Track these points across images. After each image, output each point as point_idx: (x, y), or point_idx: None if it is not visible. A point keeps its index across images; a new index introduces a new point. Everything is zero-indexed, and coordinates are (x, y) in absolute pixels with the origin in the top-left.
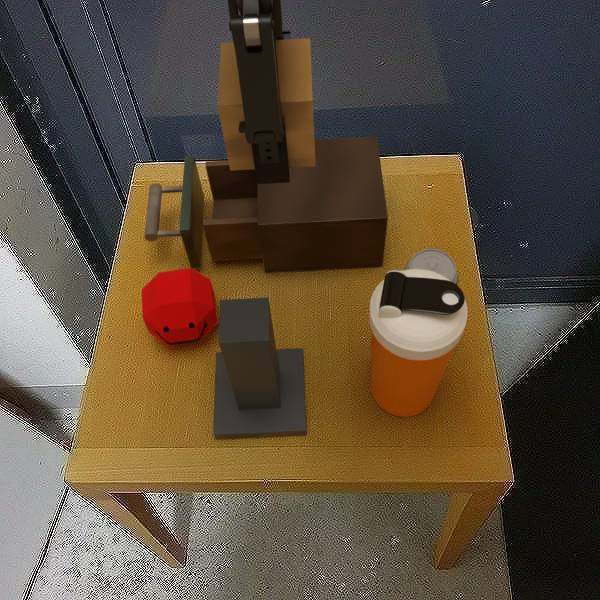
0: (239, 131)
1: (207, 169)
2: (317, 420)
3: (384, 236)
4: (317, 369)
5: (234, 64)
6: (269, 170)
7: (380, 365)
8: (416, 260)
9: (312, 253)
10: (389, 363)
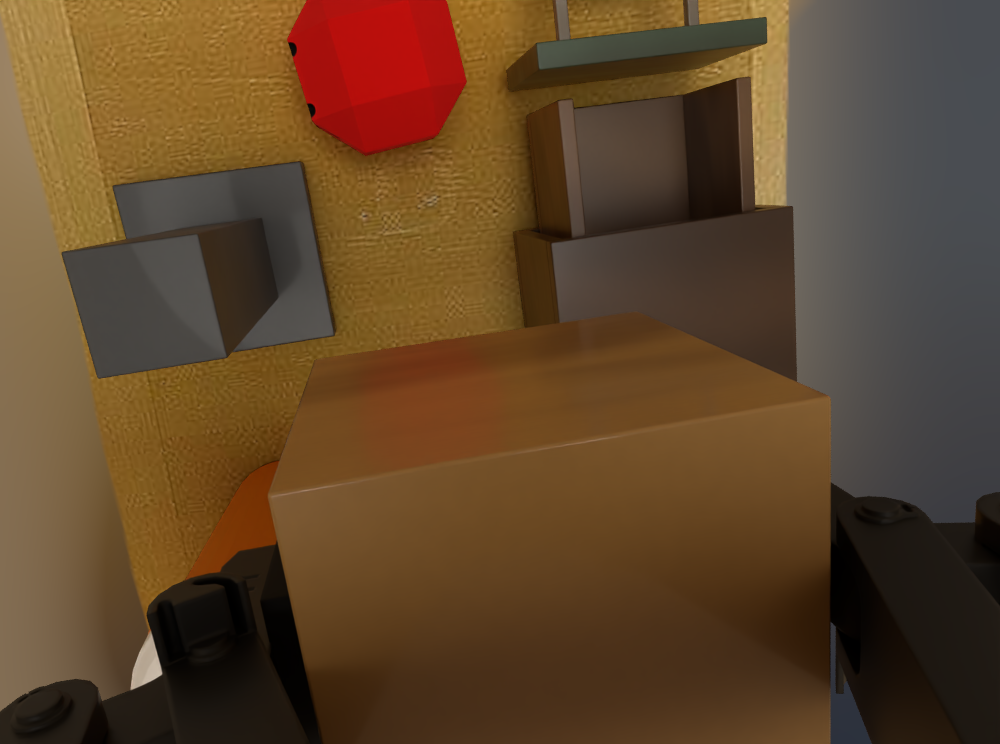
0: (154, 602)
1: (730, 83)
2: (200, 373)
3: None
4: (306, 361)
5: (640, 514)
6: None
7: (206, 550)
8: None
9: None
10: None
